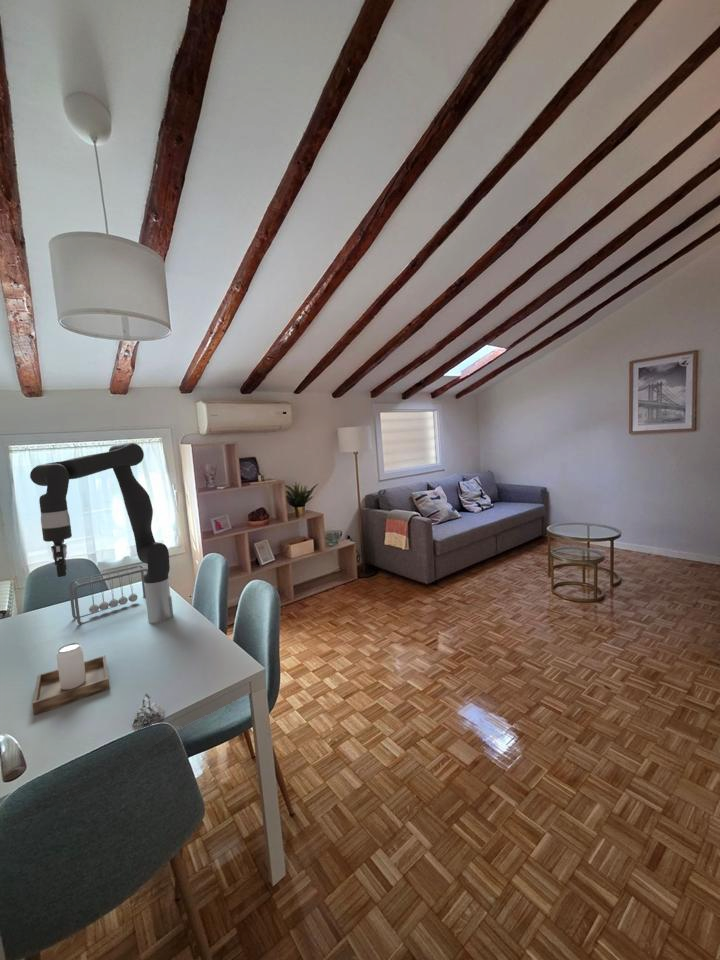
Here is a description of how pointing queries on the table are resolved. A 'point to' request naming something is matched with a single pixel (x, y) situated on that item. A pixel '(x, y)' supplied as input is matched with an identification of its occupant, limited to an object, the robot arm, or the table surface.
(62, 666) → the can
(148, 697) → the grey jagged ornament
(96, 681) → the tray
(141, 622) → the table surface
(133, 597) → the newton's cradle
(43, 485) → the robot arm
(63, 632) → the table surface
